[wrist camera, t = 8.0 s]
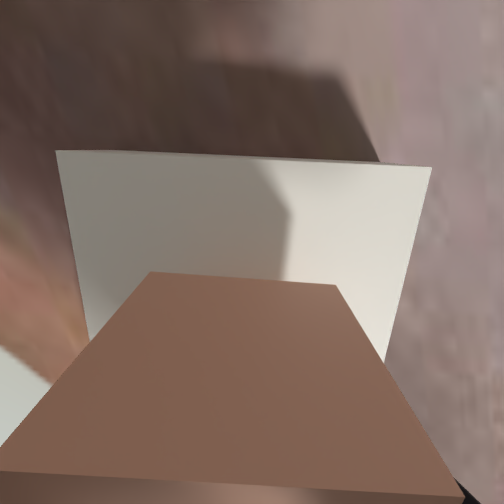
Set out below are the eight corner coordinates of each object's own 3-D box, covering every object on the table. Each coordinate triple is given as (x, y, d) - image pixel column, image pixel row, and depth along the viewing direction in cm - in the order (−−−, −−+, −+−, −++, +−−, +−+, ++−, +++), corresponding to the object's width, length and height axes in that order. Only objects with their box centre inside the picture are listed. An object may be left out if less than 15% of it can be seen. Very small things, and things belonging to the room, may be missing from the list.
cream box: (338, 368, 16) (365, 436, 12) (140, 360, 16) (105, 427, 12) (376, 161, 12) (432, 167, 8) (117, 149, 12) (55, 150, 8)
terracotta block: (309, 421, 9) (365, 694, 5) (157, 411, 9) (57, 681, 5) (335, 284, 8) (466, 497, 3) (150, 271, 8) (-21, 469, 3)
